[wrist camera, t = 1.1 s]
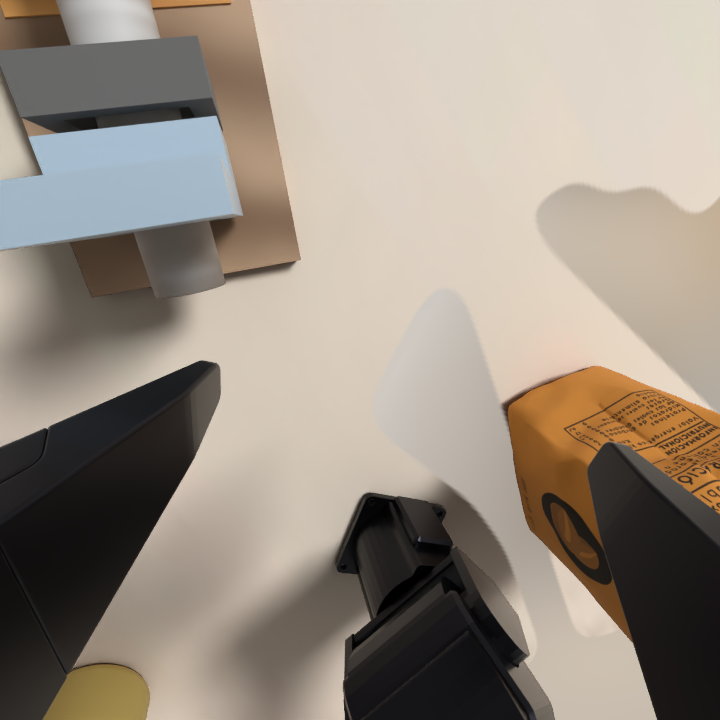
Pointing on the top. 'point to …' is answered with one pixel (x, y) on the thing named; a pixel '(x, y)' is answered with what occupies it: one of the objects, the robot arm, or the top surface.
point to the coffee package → (580, 445)
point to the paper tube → (101, 695)
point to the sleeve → (120, 183)
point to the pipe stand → (235, 105)
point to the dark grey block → (108, 81)
